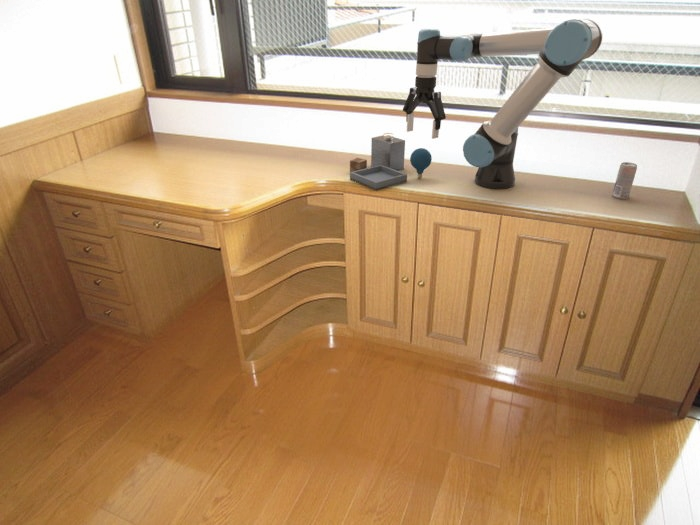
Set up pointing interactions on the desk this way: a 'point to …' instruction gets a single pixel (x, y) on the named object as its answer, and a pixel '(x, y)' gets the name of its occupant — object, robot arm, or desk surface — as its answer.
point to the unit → (388, 151)
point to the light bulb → (420, 160)
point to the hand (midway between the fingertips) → (422, 134)
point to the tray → (378, 177)
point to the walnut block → (357, 164)
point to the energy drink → (624, 180)
